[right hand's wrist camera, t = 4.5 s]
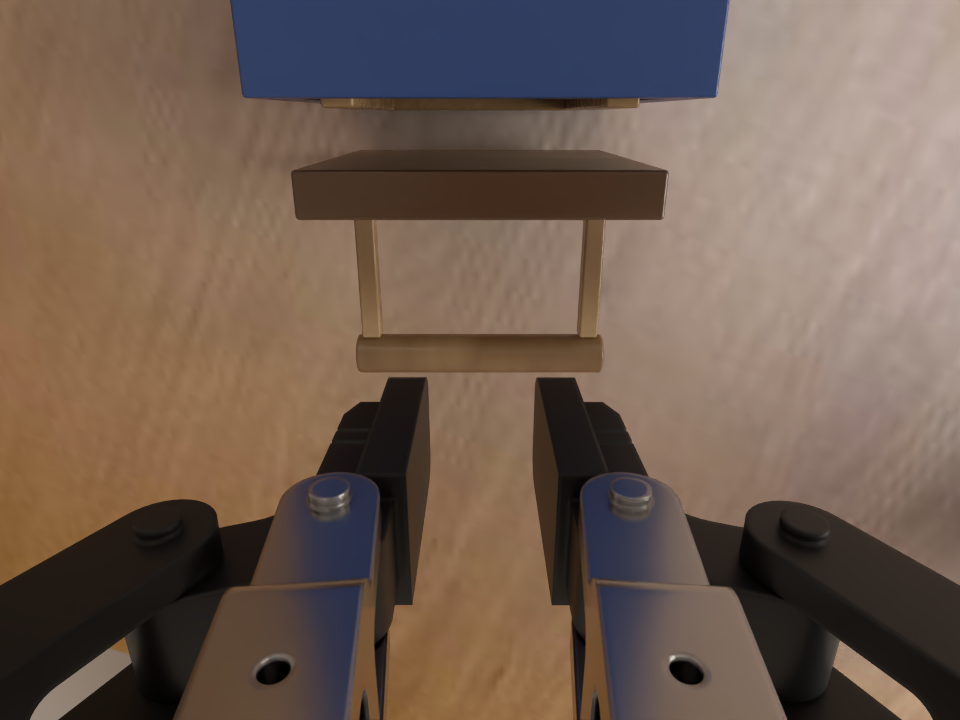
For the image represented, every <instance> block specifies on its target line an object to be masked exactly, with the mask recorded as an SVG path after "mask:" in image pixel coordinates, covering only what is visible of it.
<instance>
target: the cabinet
mask: <svg viewBox="0 0 960 720" xmlns="http://www.w3.org/2000/svg"><path fill="white" fill-rule="evenodd" d="M230 2H231V10H232V18H233V26H234V33H235V41H236V49H237V57H238V65H239V72H240V80H241V88H242V95H243V97H245V98H256V99H270V100H284V101H297V102H311V103H321V101H320V99H640V101H639V103H648V102H662V101H676V100H689V99H704V98H714V97H716V96H717V93H718V85H719V78H720V70H721V62H722V54H723V46H724V39H725V31H726V23H727V15H728V7H729V0H230Z"/></svg>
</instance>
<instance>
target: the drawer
mask: <svg viewBox="0 0 960 720" xmlns="http://www.w3.org/2000/svg"><path fill="white" fill-rule="evenodd" d="M320 101H321V105H322V107H324V108H342V109H364V110H597V109H619V108H637V107H638V106H639V101H640V99H320ZM668 175H669V174H668V171H666V170H663V169H660V168H657V167H653V166H650V165H647V164H643V163H640V162H637V161H633V160H630V159H627V158H623V157H620V156H617V155H613V154H610V153H607V152H603V151H600V150H360V151H357V152H353V153H350V154H347V155H343V156H340V157H337V158H333V159H330V160H326V161H323V162H320V163H316V164H313V165H310V166H306V167H303V168H300V169H296V170H293V171H292V173H291V177H292V187H293V196H294V206H295V215H296V218H297V219H299V220H354V224H355V238H356V252H357V265H358V279H359V293H360V307H361V320H362V334H361V335H359V337H358V339H357V345H356V361H357V367H358V370H359V371H360V372H600V371H601V369H602V366H603V360H604V346H603V340H602V337H601V335H599V334H597V331H598V317H599V304H600V290H601V276H602V262H603V248H604V235H605V221H606V220H661V219H663V217H664V212H665V203H666V194H667V184H668ZM376 220H584V221H583V238H582V255H581V271H580V288H579V305H578V321H577V332H578V334H382V332H383V324H382V307H381V291H380V274H379V257H378V241H377V224H376Z"/></svg>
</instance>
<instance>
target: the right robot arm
mask: <svg viewBox="0 0 960 720" xmlns="http://www.w3.org/2000/svg"><path fill="white" fill-rule="evenodd" d="M533 479H534V487H535V494H536V501H537V508H538V514H539V521H540V528H541V535H542V542H543V548H544V555H545V562H546V569H547V576H548V582H549V589H550V596H551V603H552V605H570V610H571V616H572V622H571V637H570V658H571V679H572V701H573V720H901V719H900V718H899V717H897V716H896V715H895V714H894V713H892V712H891V711H890V710H888V709H887V708H886V707H885V706H883V705H882V704H881V703H879V702H878V701H877V700H875V699H874V698H873V697H872V696H870V695H869V694H868V693H866V692H865V691H864V690H863V689H861V688H860V687H859V686H857V685H856V684H855V683H854V682H852V681H851V680H850V679H848V678H847V677H846V676H844V675H843V674H842V673H841V672H839V671H838V670H837V669H835V668H834V667H833V663H834V660H835V656H836V652H837V649H838V645H839V641H840V640H841V641H842V642H843V643H845V644H846V645H847V646H849V647H850V648H852V649H853V650H854V651H856V652H857V653H858V654H860V655H861V656H863V657H864V658H865V659H867V660H868V661H869V662H871V663H872V664H873V665H875V666H876V667H878V668H879V669H880V670H882V671H883V672H884V673H886V674H887V675H889V676H890V677H891V678H893V679H894V680H895V681H897V682H898V683H900V684H901V685H902V686H904V687H905V688H906V689H908V690H909V691H910V692H911V693H913V694H914V695H915V696H916V697H917V698H918V699H919V700H920V701H921V702H922V703H923V705H924V706H925V707H926V709H927V710H928V712H929V713H930V715H931V717H932V719H933V720H960V585H958V584H956V583H954V582H953V581H951V580H949V579H947V578H945V577H944V576H942V575H940V574H938V573H936V572H935V571H933V570H931V569H929V568H928V567H926V566H924V565H922V564H920V563H919V562H917V561H915V560H913V559H912V558H910V557H908V556H906V555H904V554H903V553H901V552H899V551H897V550H895V549H894V548H892V547H890V546H888V545H887V544H885V543H883V542H881V541H879V540H878V539H876V538H874V537H872V536H870V535H869V534H867V533H865V532H863V531H862V530H860V529H858V528H856V527H854V526H853V525H851V524H849V523H847V522H846V521H844V520H842V519H840V518H838V517H837V516H835V515H833V514H831V513H829V512H826V511H824V510H822V509H819V508H816V507H813V506H810V505H806V504H802V503H797V502H790V501H769V502H763V503H760V504H757V505H755V506H753V507H752V508H751V509H750V510H748V512H747V514H746V517H745V523H744V528H742V527H737V526H732V525H727V524H722V523H716V522H711V521H707V520H703V519H699V518H696V517H693V516H690V515H688V514H685V513H684V510H683V507H682V504H681V501H680V499H679V497H678V496H677V494H676V493H675V492H674V491H673V490H672V489H671V488H670V487H668V486H667V485H665V484H664V483H662V482H660V481H658V480H656V479H653V478H651V477H648V474H647V472H646V470H645V468H644V466H643V464H642V462H641V459H640V457H639V455H638V453H637V451H636V449H635V447H634V444H632V440H631V438H630V436H629V434H628V432H626V427H625V425H624V423H623V421H622V419H621V417H620V414H618V413H617V412H615V411H614V410H613V409H611V408H610V407H609V406H607V405H606V404H605V403H603V402H583V399H582V396H581V393H580V390H579V388H578V385H577V382H576V379H575V378H536V383H535V402H534V430H533ZM429 480H430V428H429V397H428V381H427V378H426V377H389V378H388V380H387V383H386V386H385V389H384V392H383V395H382V397H381V400H380V402H360V403H359V404H357V405H356V406H355V407H353V408H352V409H350V410H349V411H348V412H346V413H345V414H344V415H343V418H342V420H341V422H340V424H339V426H338V431H336V433H335V435H334V437H333V440H332V443H331V444H330V446H329V448H328V451H327V453H326V455H325V457H324V459H323V462H322V464H321V466H320V468H319V470H318V473H317V475H316V476H312V477H309V478H307V479H304V480H302V481H300V482H298V483H296V484H295V485H293V486H292V487H290V488H289V489H288V490H287V491H286V492H285V493H284V494H283V496H282V497H281V499H280V501H279V504H278V507H277V510H276V513H275V515H274V516H271V517H268V518H265V519H261V520H257V521H252V522H247V523H242V524H237V525H232V526H227V527H222V528H219V525H218V519H217V514H216V512H215V510H214V509H213V508H212V507H211V506H210V505H208V504H206V503H204V502H200V501H196V500H185V499H180V500H170V501H163V502H159V503H155V504H151V505H148V506H145V507H142V508H140V509H137V510H135V511H133V512H131V513H129V514H127V515H125V516H123V517H122V518H120V519H118V520H116V521H115V522H113V523H111V524H109V525H107V526H106V527H104V528H102V529H100V530H98V531H97V532H95V533H93V534H91V535H90V536H88V537H86V538H84V539H82V540H81V541H79V542H77V543H75V544H73V545H72V546H70V547H68V548H66V549H65V550H63V551H61V552H59V553H57V554H56V555H54V556H52V557H50V558H48V559H47V560H45V561H43V562H41V563H40V564H38V565H36V566H34V567H32V568H31V569H29V570H27V571H25V572H24V573H22V574H20V575H18V576H16V577H15V578H13V579H11V580H9V581H7V582H6V583H4V584H2V585H0V720H30V718H31V716H32V714H33V712H34V710H35V709H36V707H37V706H38V704H39V703H40V702H41V701H42V699H43V698H44V697H45V696H46V695H47V694H48V693H49V692H50V691H51V690H53V689H54V688H55V687H56V686H58V685H59V684H60V683H62V682H63V681H65V680H66V679H67V678H69V677H70V676H71V675H73V674H74V673H76V672H77V671H78V670H80V669H81V668H82V667H84V666H85V665H87V664H88V663H89V662H91V661H92V660H93V659H95V658H96V657H97V656H99V655H100V654H102V653H103V652H104V651H106V650H107V649H108V648H110V647H111V646H113V645H114V644H115V643H117V642H118V641H119V640H121V639H122V638H124V637H125V639H126V643H127V646H128V650H129V654H130V658H131V661H132V663H131V664H130V665H128V666H127V667H126V668H125V669H123V670H122V671H121V672H119V673H118V674H117V675H116V676H114V677H113V678H112V679H110V680H109V681H108V682H106V683H105V684H104V685H103V686H101V687H100V688H99V689H97V690H96V691H95V692H94V693H92V694H91V695H90V696H88V697H87V698H86V699H85V700H83V701H82V702H81V703H79V704H78V705H77V706H75V707H74V708H73V709H72V710H70V711H69V712H68V713H66V714H65V715H64V716H63V717H61V718H60V719H59V720H387V701H388V679H389V658H390V637H389V627H390V626H391V622H392V618H393V612H394V607H395V605H412V603H413V596H414V589H415V582H416V575H417V567H418V560H419V553H420V546H421V538H422V531H423V524H424V517H425V510H426V502H427V495H428V488H429Z"/></svg>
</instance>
